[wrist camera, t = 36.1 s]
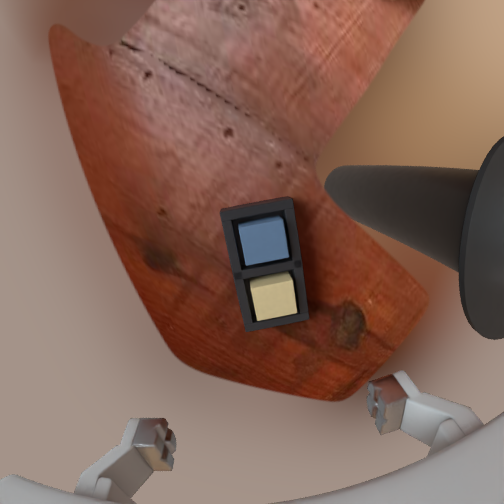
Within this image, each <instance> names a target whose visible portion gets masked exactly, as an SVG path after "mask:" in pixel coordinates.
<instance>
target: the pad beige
mask: <svg viewBox="0 0 504 504" xmlns="http://www.w3.org/2000/svg"><path fill="white" fill-rule="evenodd" d="M249 280H250V287H251V293H252V297H253V302H254V307H255V312H256V317H257V321H260V320H265V319H270V318H275V317H280V316H285V315H290V314H295V313H297V307H296V300H295V292H294V286H293V280H292V278H291V276H290V274H289V272H288V271H286V272H281V273H276V274H271V275H265V276H260V277H255V278H250V279H249Z"/></svg>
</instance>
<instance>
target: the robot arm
mask: <svg viewBox="0 0 504 504" xmlns="http://www.w3.org/2000/svg"><path fill="white" fill-rule="evenodd" d="M367 389H368V391H369V392H370V393H369V394H368V396H367V406H368V410H369V412H370V415H371V417H373V418H375V419H376V421H375V425H376V427H377V429H378V431H379V433H380V435H383V434H386V433H389V432H392V431H395V430H398V429H400V430H402V431H403V432H405V433H407V434H408V435H410V436H412V437H414V438H416V439H418V440H419V441H421V442H423V443H425V444H427V445H428V446H430V447H431V449H430V451H429V453H428V456H427V457H426V458H424V459H421V460H419V461H417V462H415V463H413V464H410V465H408V466H406V467H403V468H401V469H398V470H396V471H393V472H391V473H388V474H385V475H383V476H380V477H377V478H374V479H371V480H368V481H365V482H362V483H359V484H356V485H353V486H350V487H346V488H342V489H339V490H335V491H332V492H327V493H323V494H319V495H315V496H310V497H305V498H300V499H295V500H290V501H284V502H277V503H271V504H504V412H502V413H501V414H500V415H498V416H497V417H495V418H494V419H493V420H491V421H489V422H488V423H486V424H485V425H484V424H483V423H482V422H481V420H480V419H479V418H478V417H477V416H476V414H475V413H474V412H473V411H472V409H471V408H470V407H467V406H464V405H461V404H458V403H455V402H452V401H449V400H446V399H443V398H440V397H437V396H434V395H431V394H429V393H426V392H423V393H421V392H420V391H419V389H418V388H417V387H416V386H415V384H414V383H413V382H412V380H411V379H410V378H409V376H408V375H407V374H406V373H405V371H403V370H401V371H398V372H395V373H393V374H390V375H387V376H384V377H381V378H378V379H375V380H372V381H369V383H368V388H367ZM175 451H176V438H175V435H174V433H173V431H172V430H171V429H169V428H168V422H167V421H166V419H164V418H131V419H130V420H129V421H128V424H127V426H126V429H125V432H124V435H123V438H122V441H121V443H120V445H117V446H115V447H114V448H113V449H112V450H110V451H109V452H108V453H107V454H105V455H104V456H103V457H102V458H100V459H99V460H98V461H96V462H95V463H94V464H92V465H91V466H90V467H89V468H87V469H86V470H85V471H83V472H82V473H81V476H80V478H79V481H78V484H77V486H76V489H75V491H74V493H70V492H66V491H63V490H60V489H56V488H53V487H49V486H46V485H43V484H40V483H37V482H34V481H32V480H29V479H26V478H23V477H21V476H18V475H14V474H12V475H9V476H6V477H5V478H3V479H1V480H0V504H136V503H135V502H134V501H133V500H132V499H131V497H132V496H133V495H134V494H135V493H136V492H137V491H138V489H139V488H140V487H141V486H142V485H143V484H144V483H145V481H146V480H147V479H148V478H149V476H151V474H152V473H153V471H172V469H173V463H174V458H173V456H172V454H173V453H174V452H175Z"/></svg>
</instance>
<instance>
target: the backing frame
mask: <svg viewBox="0 0 504 504" xmlns="http://www.w3.org/2000/svg"><path fill="white" fill-rule="evenodd" d="M277 215H279V216H280V217H281V218H282V219H283V222H284V228H285V234H286V240H287V247H288V253H289V257H288V258H283V259H278V260H273V261H268V262H263V263H258V264H253V265H248V266H246V263H245V258H244V253H243V248H242V243H241V238H240V233H239V227H238V223H241V222H246V221H251V220H256V219H261V218H267V217H272V216H277ZM220 216H221V221H222V226H223V230H224V235H225V240H226V245H227V249H228V254H229V259H230V263H231V268H232V272H233V277H234V281H235V286H236V290H237V295H238V299H239V304H240V308H241V313H242V317H243V321H244V326H245V330H246V332H249V331H254V330H259V329H264V328H270V327H275V326H280V325H284V324H289V323H294V322H299V321H303V320H308V319H309V312H308V304H307V296H306V288H305V280H304V273H303V265H302V258H301V251H300V244H299V238H298V231H297V224H296V218H295V212H294V205H293V199H292V198H290V197H281V198H275V199H270V200H264V201H259V202H254V203H248V204H243V205H238V206H233V207H228V208H223V209H221V211H220ZM286 271H288V272H289V274H290V276H291V278H292V280H293V286H294V292H295V300H296V307H297V313H295V314H290V315H285V316H280V317H275V318H270V319H265V320H260V321H257V317H256V312H255V307H254V302H253V297H252V293H251V287H250V280H249V279H250V278H255V277H260V276H265V275H271V274H276V273H281V272H286Z"/></svg>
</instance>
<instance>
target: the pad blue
mask: <svg viewBox="0 0 504 504" xmlns="http://www.w3.org/2000/svg"><path fill="white" fill-rule="evenodd" d="M238 227H239V233H240V238H241V243H242V248H243V253H244V258H245V263H246V266H248V265H253V264H258V263H263V262H268V261H273V260H278V259H283V258H288V257H289V253H288V247H287V240H286V234H285V228H284V222H283V219H282V218H281V217H280V216H279V215H277V216H272V217H267V218H261V219H256V220H251V221H246V222H241V223H238Z"/></svg>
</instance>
